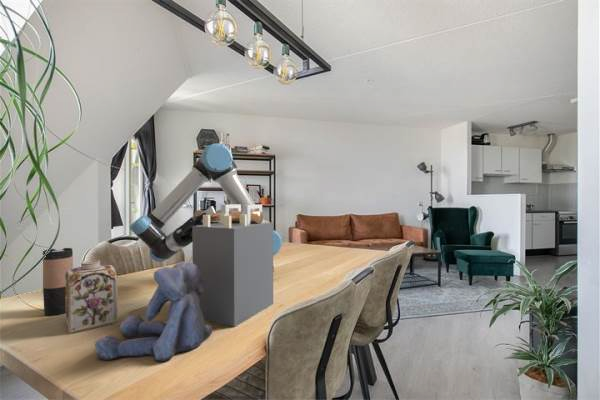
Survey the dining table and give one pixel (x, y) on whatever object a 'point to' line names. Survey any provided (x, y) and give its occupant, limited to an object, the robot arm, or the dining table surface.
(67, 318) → the decorative jar
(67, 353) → the dining table surface
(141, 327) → the elephant
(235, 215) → the copper tube
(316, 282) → the dining table surface
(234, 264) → the grey pedestal with pegs
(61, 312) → the travel mug
